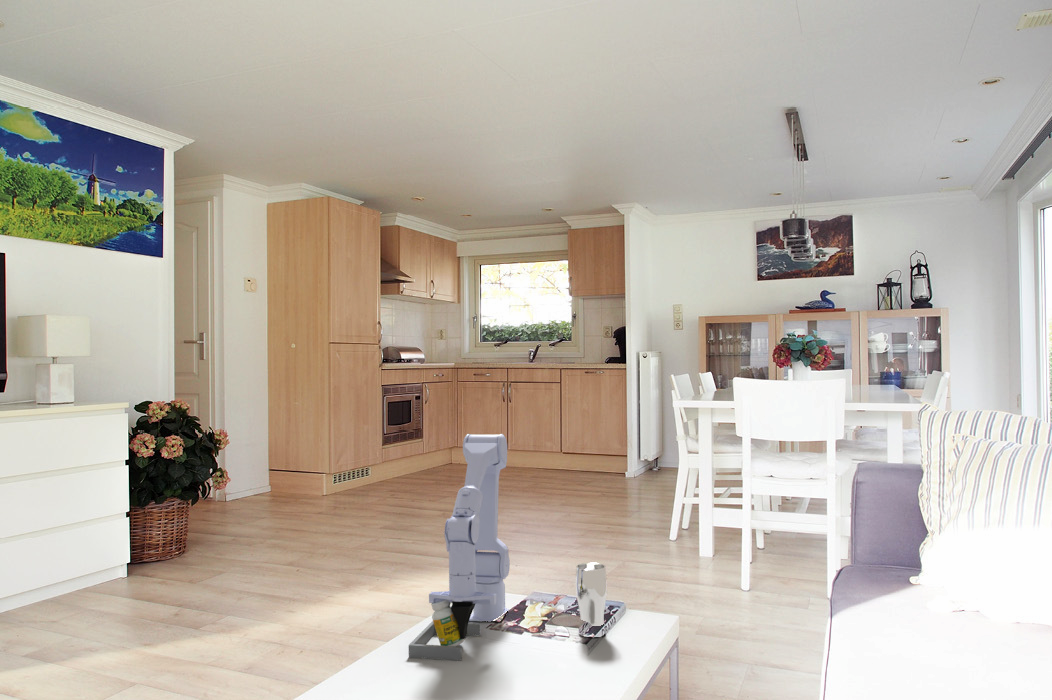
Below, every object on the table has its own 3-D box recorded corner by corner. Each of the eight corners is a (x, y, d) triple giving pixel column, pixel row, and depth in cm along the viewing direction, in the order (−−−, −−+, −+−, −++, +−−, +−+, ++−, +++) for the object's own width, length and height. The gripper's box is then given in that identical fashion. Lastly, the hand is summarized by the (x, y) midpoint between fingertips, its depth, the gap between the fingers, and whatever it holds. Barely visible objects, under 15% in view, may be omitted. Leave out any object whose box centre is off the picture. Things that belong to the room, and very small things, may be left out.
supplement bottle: (458, 637, 164) (446, 594, 164) (469, 640, 159) (456, 596, 160) (437, 647, 161) (424, 604, 161) (447, 651, 156) (434, 606, 157)
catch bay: (432, 632, 169) (432, 620, 169) (480, 634, 167) (480, 623, 167) (408, 657, 154) (408, 645, 154) (460, 660, 152) (460, 648, 152)
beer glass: (607, 628, 169) (606, 562, 170) (608, 639, 163) (606, 570, 163) (577, 628, 170) (575, 562, 171) (576, 638, 163) (574, 570, 164)
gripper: (424, 576, 157) (424, 642, 156) (490, 577, 155) (491, 644, 154) (434, 569, 164) (434, 632, 163) (498, 570, 162) (499, 634, 161)
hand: (463, 637), depth 159 cm, fingers closed, pressing on supplement bottle
